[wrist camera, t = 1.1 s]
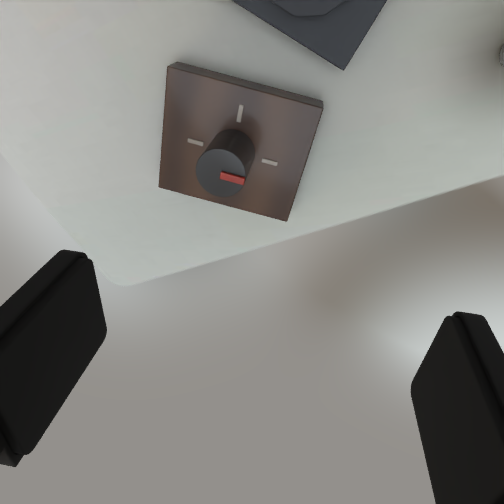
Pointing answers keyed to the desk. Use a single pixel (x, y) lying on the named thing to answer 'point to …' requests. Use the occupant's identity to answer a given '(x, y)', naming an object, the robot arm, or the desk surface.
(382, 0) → the switch box
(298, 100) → the dimmer panel
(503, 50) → the lightbulb
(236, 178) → the dimmer knob
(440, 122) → the desk surface
